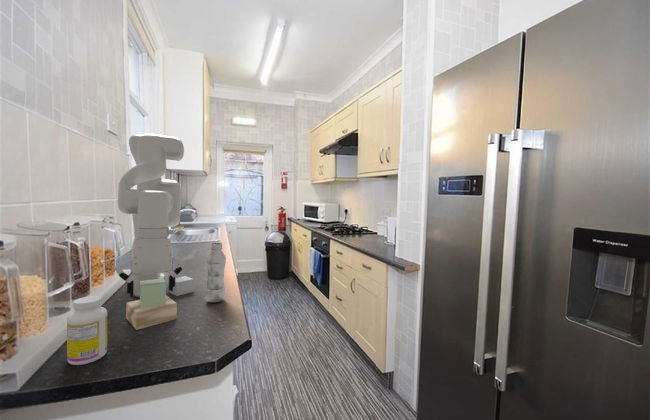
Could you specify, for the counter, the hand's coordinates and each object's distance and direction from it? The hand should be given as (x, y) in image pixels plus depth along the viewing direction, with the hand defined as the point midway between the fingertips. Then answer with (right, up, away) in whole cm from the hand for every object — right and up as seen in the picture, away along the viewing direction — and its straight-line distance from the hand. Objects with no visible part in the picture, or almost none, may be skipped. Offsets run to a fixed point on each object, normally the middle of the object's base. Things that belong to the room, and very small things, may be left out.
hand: (151, 292), depth 80 cm
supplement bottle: (-2, -8, -20) cm, 22 cm away
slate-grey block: (-4, -7, +23) cm, 25 cm away
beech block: (0, -8, 0) cm, 8 cm away
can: (-14, -7, +19) cm, 25 cm away
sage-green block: (0, -3, 0) cm, 3 cm away
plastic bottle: (+12, -8, +15) cm, 21 cm away
